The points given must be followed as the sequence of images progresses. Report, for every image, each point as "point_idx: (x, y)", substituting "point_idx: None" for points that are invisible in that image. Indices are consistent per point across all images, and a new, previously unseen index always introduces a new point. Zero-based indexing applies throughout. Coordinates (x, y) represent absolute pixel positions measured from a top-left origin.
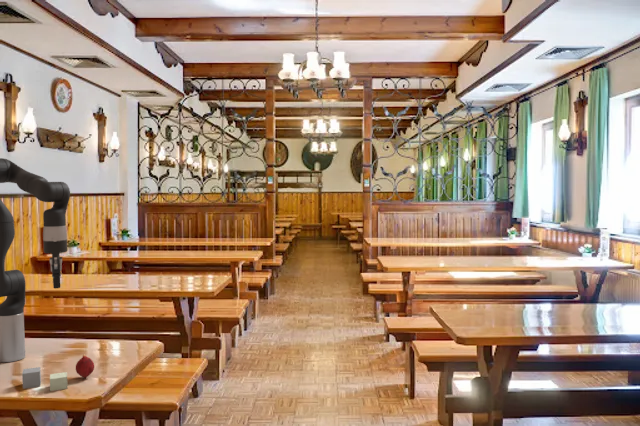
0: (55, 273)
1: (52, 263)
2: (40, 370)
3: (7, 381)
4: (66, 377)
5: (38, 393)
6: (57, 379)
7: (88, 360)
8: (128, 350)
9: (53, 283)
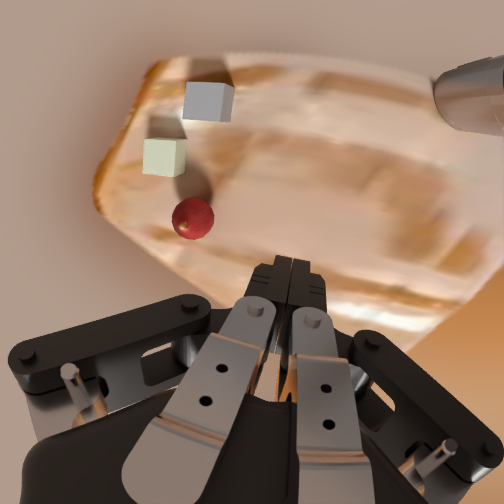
0: (175, 341)
1: (116, 422)
2: (222, 121)
3: (274, 57)
4: (143, 172)
5: (155, 115)
6: (144, 153)
7: (175, 230)
8: (345, 331)
9: (272, 272)
